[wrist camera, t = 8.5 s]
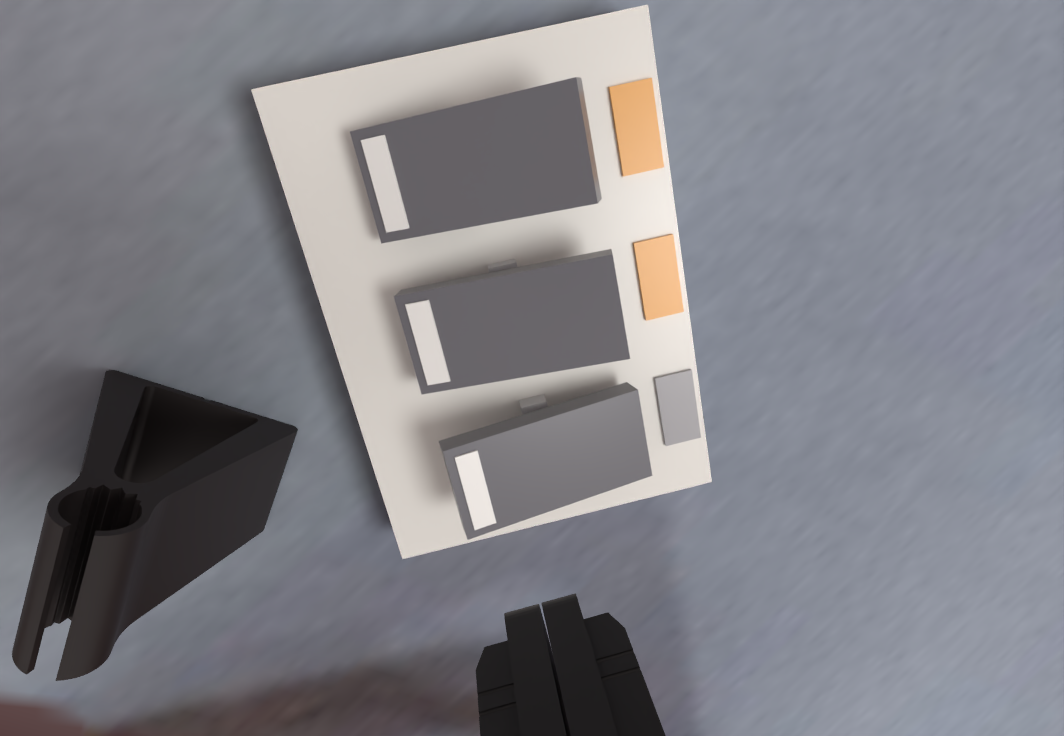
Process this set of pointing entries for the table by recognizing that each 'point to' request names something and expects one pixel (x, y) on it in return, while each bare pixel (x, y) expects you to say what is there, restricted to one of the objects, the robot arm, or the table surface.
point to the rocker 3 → (547, 459)
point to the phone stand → (146, 513)
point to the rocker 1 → (480, 162)
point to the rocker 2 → (514, 322)
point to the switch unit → (493, 258)
